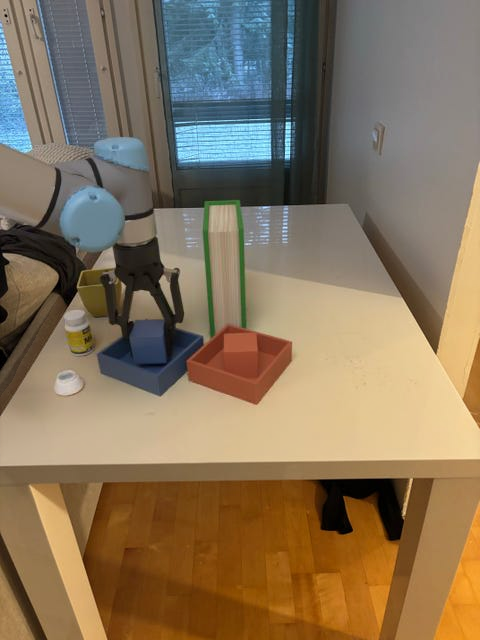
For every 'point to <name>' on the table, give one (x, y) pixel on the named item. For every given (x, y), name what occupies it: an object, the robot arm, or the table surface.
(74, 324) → the supplement bottle
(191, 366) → the rust bin
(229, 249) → the hardback book
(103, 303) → the flower pot
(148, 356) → the slate block
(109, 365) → the slate bin
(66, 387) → the lidless jar
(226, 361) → the rust block
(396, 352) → the table surface
